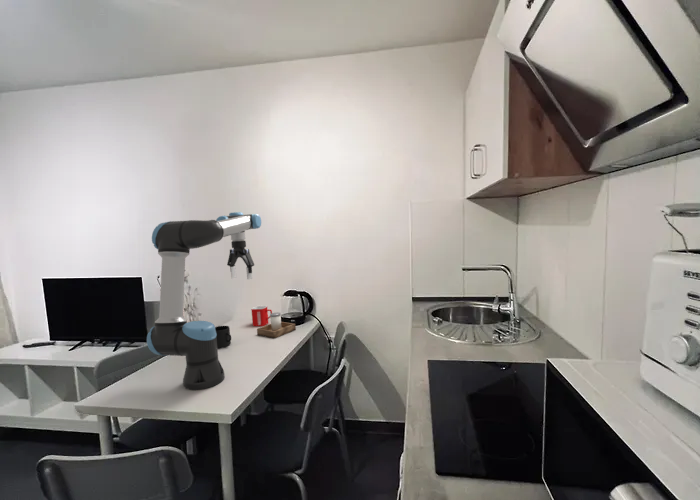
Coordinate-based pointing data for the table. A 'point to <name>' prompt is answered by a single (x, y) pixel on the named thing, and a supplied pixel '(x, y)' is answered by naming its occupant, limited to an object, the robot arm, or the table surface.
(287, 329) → the tray
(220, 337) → the mug
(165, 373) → the table surface
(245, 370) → the table surface
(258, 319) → the mug
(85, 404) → the table surface
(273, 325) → the shaker
